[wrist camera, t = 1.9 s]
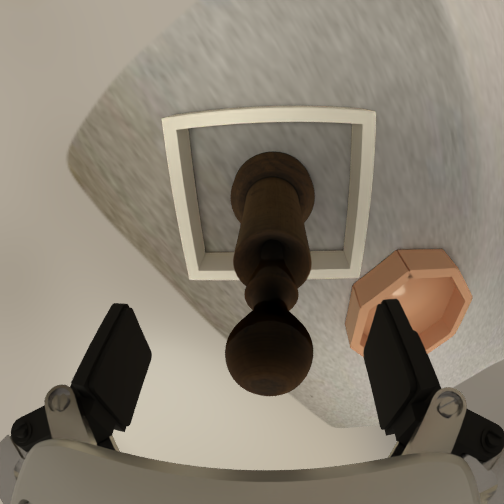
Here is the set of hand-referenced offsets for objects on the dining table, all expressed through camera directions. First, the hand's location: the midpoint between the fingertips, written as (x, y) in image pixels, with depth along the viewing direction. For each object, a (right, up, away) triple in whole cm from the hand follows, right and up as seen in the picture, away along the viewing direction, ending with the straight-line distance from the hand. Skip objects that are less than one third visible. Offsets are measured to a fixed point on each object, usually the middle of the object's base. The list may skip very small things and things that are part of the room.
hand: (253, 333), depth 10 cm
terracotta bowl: (+17, -3, +19) cm, 26 cm away
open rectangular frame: (+2, +8, +13) cm, 16 cm away
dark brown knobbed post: (+2, +8, +13) cm, 16 cm away
